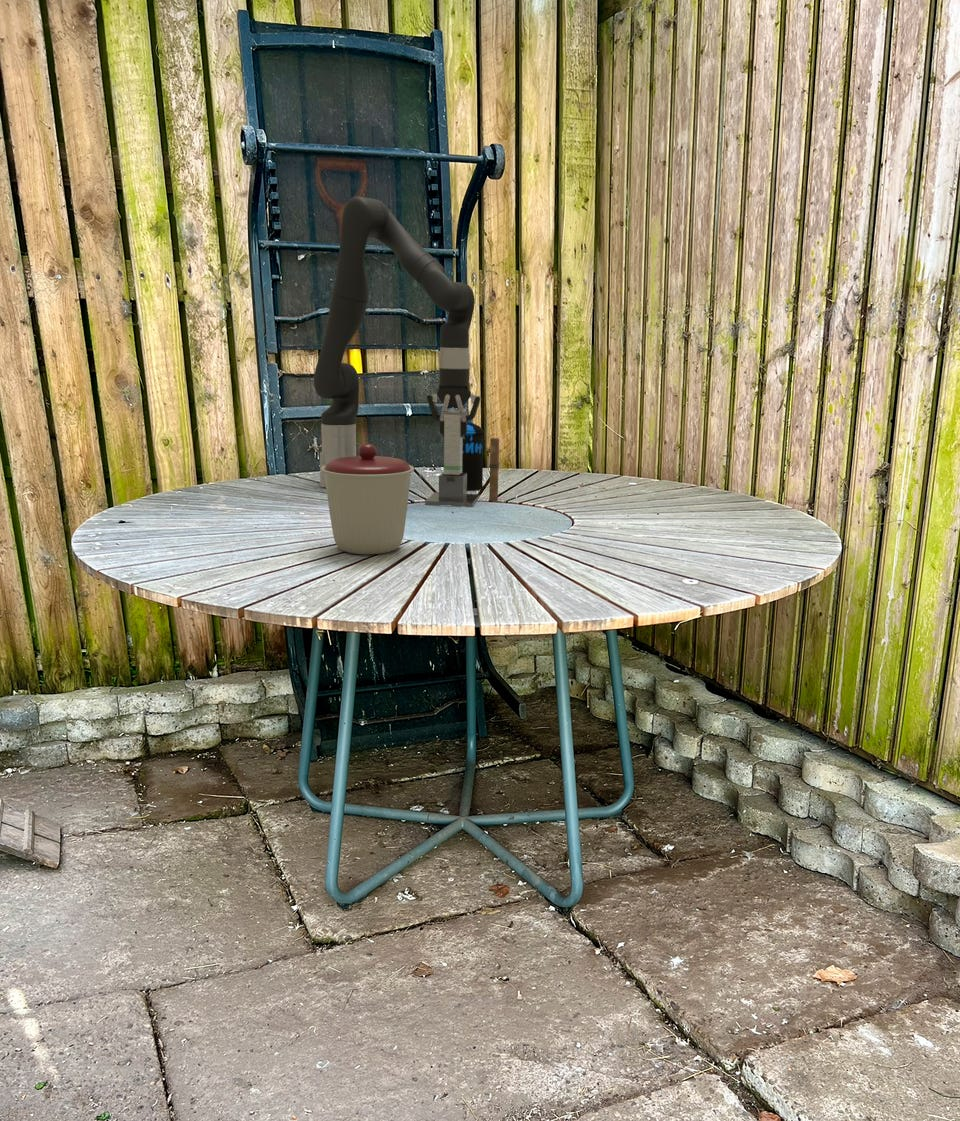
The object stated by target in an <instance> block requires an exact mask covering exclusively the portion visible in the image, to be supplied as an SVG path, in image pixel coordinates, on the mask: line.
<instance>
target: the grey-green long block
mask: <svg viewBox="0 0 960 1121" xmlns="http://www.w3.org/2000/svg"><path fill="white" fill-rule="evenodd" d="M443 414H444V436H443V445H444V446H443V472H444V474H447V475H460V474H461V473H462V445H463V437H461V422H462V420H461V415H462V412H459V410H450V409H449V411H447V412H443Z"/></svg>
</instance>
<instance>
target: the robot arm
mask: <svg viewBox="0 0 960 1121" xmlns="http://www.w3.org/2000/svg"><path fill="white" fill-rule="evenodd" d="M340 228H341V230H340V241H339V253H338V257H337V258H338V259H337V265H336V272H335V278H334V284H333V286H332V287H333V288H332V292H331V298H330V303H329V311H328V317H327V321H326V327H325V332H324V335H323V336H324V337H323V341H322V345H321V349H320V352H319V356H318V358H317V359H318V360H317V362H316V365H315V370H314V376H313V387H314V390H315V392H316V395H318V396H319V398H321V399H329V400H330V399H331V400H332V402H331V405H330V406H329V407H328V408H327V409H326V410H325V411H323V412H322V413H321V415H320V416H321V417H320V421H321V422H320V424H321V426H320V428H321V451H319V472H320V474H319V476H320V479H319V480H320V481H319V483H320V487H321V488H326V482H325V474H324V473H323V472H322V471H321V467H322V466H324V465H326V464H327V463H328V462H329V461H332V460H334V459H338V458H343V457H352V456H357V431H356V430H357V429H356V426H357V425H356V423H357V422H356V419H357V416H358V413H359V403H360V402H359V398H360V397H359V396H360V380H359V375H358V372H357V370H356V367H354V365H352V364H351V363H347V362H343V359H344V355H345V352H346V350H347V347H348V345H349V344H350V342H351V341H352V339H353V338H354V336H355V335H356V333H357V332H358V331H359V329H360V327H361V326H362V324H363V322H364V320H365V317H366V312H367V308H368V301H369V295H370V289H369V287H370V286H369V281H368V279H367V274H366V273H367V272H366V268H365V252H366V247H367V244H368V243H367V242H368V239H369V238H371V239H372V238H374V239H375V240H378V242H381V243H383V245H384V246H386V247H388V248H389V249H390V250H391V252H393V254H394V255H395V257H396V258H397V261H398V262H399V265H400V266H401V267H402V269H403V270H404V271H405V272H406V273H407V274H408V276H409V277H411V278H412V280H414V281H415V282H417V284H418V285H420V287H422V288H423V289H424V291H425V293H426V294H427V295H428V297H430V300H431V301H432V302H433V303H434V304H435V305H436V306H437V307H438V308H439V309H441V310H442V311H444V312H448V317H447V321H446V322H445V323H443V324H441V326H440V331H439V332H440V335H439V336H440V337H439V338H440V339H439V340H440V342H439V343H440V344H439V345H440V349H439V356H438V358H439V359H438V389H437V392H436V393H433V394H427V395H426V400H427V403H428V406H429V409H430V412H431V415H432V418H433V419H436V420H438V421H439V433H440V435H442V437H444V414H443V412H447V411H449V410H450V409H453V408H454V409H458V411H459V412H462V415H461V420H462V422H461V437H464V436H465V435H466V434H467V422H468V421H469V420H472V419H473V420H474V419H475V417H476V414H477V412H478V409H479V406H480V404H481V401H482V397H481V396H480V395H478V396H477V395H475V394H472V392H471V390H470V366H471V358H470V357H471V356H470V327H471V324H472V319H473V314H474V311H475V310H474V309H475V300H476V299H475V294H474V291H473V289H472V288H471V286H470V285H469V284H467V283H465V282H462V281H461V282H458V281H453V280H452V279H451V278H449V277H448V276H447V274H446V270H445V267H444V266H443V265H442V264H441V263H440V262H439V260H437V259H435V257H433V256H432V255H431V254H430V253H429V252H428V251H427V250H425V249H424V248H423V247H422V245H420V244H419V243H418V242H417V240H415V239H414V238H413V237H412V236H411V234H410V233H409V232H408V231H407V230H406V229H405V228H404V226H402V224H401V223H400V222H399V221H398V219H397V218H396V217H395V215H394V214H393V212H391V210H390V208H388V207H387V205H386V204H385V203H384V202H383V201H381V200H379V199H376V198H370V197H364V196H354V197H352V198H350V199H349V200H348V201H347V202H346V204H345V206H344V208H343V212H342V218H341V227H340ZM438 399H439V400H440V402H441V404H442V407H441V413H439V410H438V406H437V404H436V403H437V401H438ZM469 400H470V402H471V404H472V406H471V409H470V411H469V414H467V409H466V403H467V402H468V401H469ZM467 415H468V416H467Z"/></svg>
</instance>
